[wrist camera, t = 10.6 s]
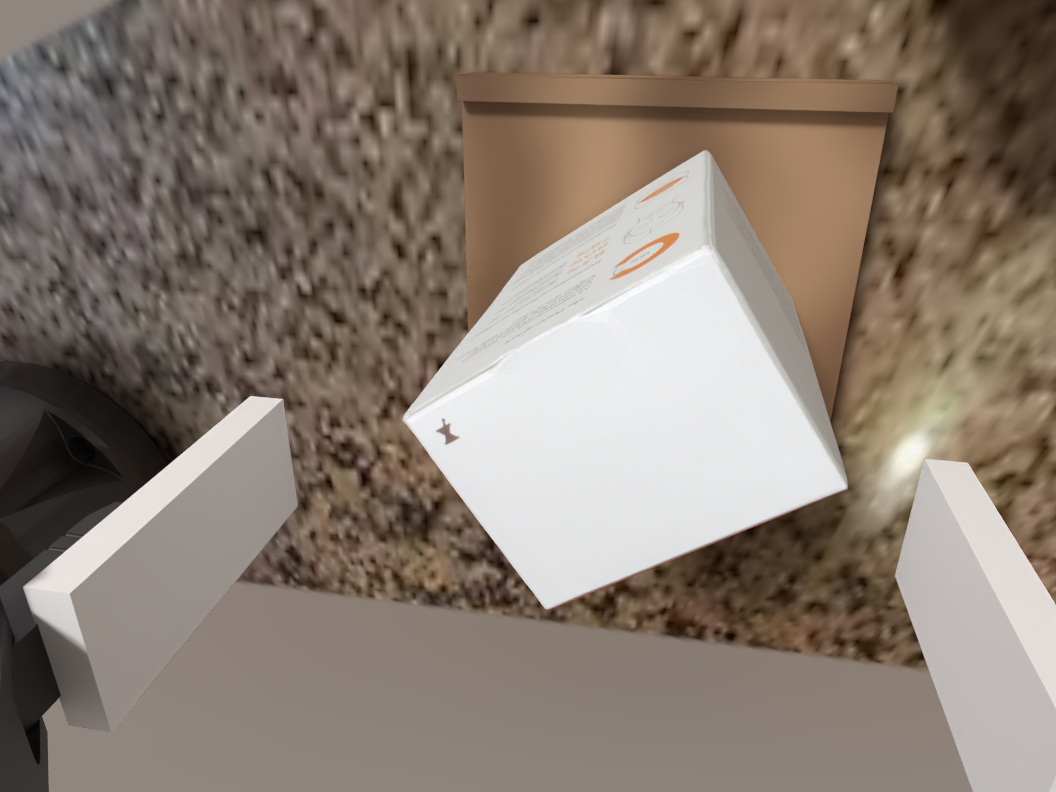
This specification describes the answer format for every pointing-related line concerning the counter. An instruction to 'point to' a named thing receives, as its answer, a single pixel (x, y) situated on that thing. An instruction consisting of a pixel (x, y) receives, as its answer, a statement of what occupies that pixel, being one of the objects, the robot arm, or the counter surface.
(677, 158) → the walnut board
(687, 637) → the counter surface
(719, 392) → the small box
